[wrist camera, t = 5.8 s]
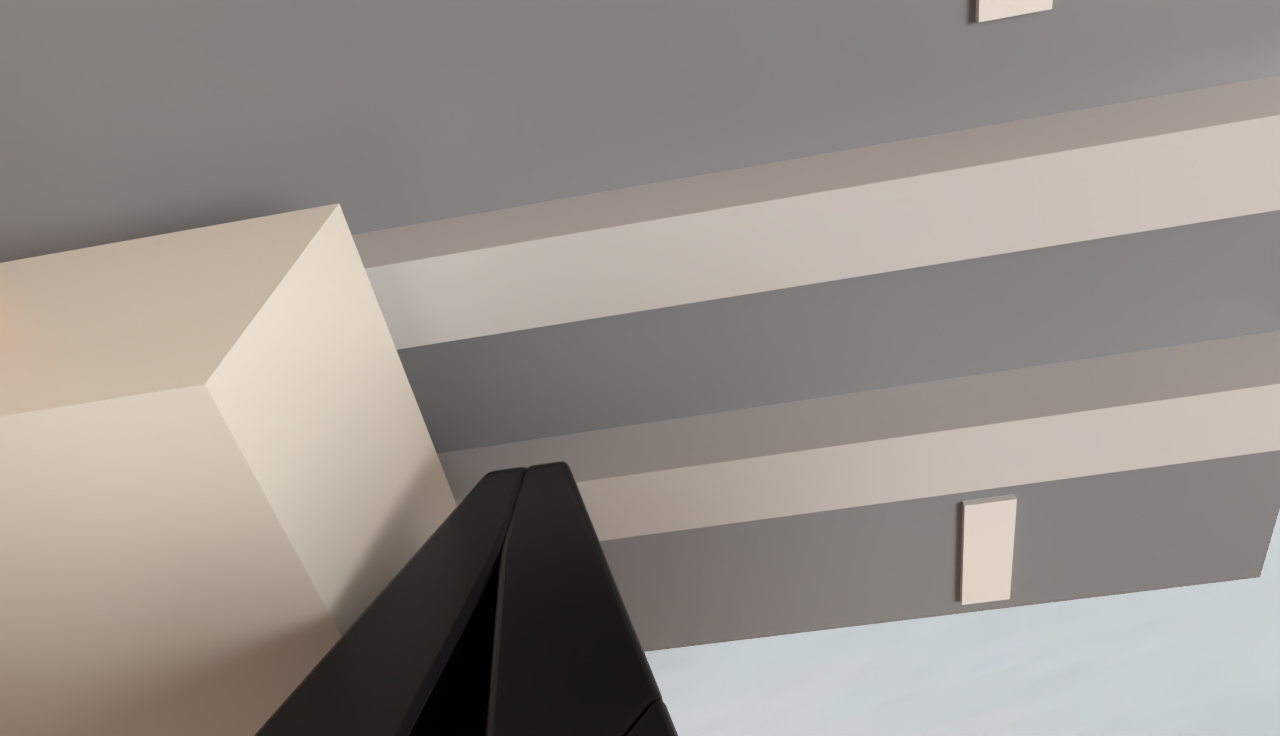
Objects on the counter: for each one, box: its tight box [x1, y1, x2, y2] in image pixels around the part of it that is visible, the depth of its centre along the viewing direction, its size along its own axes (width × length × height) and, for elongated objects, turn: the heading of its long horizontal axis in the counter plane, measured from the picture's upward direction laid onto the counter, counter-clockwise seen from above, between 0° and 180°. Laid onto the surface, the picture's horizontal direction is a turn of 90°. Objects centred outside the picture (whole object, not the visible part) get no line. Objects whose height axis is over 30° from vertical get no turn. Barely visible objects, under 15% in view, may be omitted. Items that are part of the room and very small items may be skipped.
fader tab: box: [0, 203, 457, 736], centre depth 9 cm, size 4×6×4 cm, turn 10°
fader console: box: [0, 0, 1280, 651], centre depth 11 cm, size 20×11×3 cm, turn 100°
